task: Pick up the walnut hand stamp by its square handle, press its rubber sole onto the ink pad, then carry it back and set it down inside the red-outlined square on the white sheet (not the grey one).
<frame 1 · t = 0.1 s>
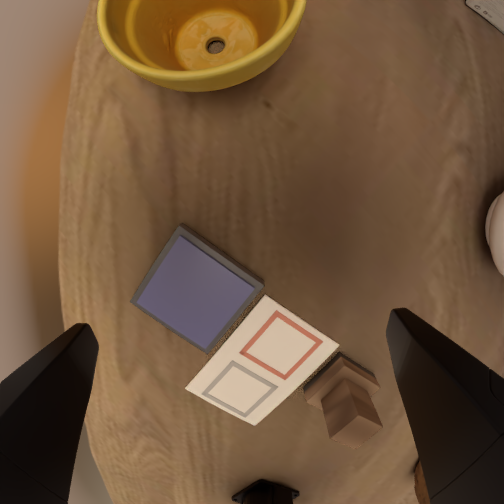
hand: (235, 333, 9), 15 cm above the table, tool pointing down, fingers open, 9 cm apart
sheet: (259, 369, 27), on the table
stamp: (339, 380, 27), on the table
plant pot: (218, 49, 20), on the table
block: (439, 449, 31), on the table
inkpad: (195, 289, 25), on the table
flower vase: (502, 215, 23), on the table
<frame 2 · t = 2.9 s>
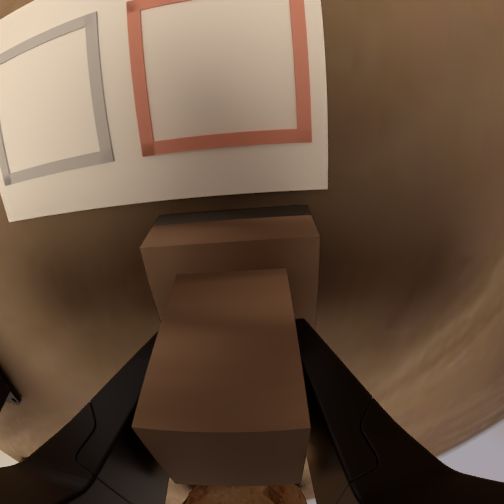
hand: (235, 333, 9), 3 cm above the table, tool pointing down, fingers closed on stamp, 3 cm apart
sheet: (120, 80, 8), on the table
stamp: (238, 273, 11), on the table, touching gripper
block: (242, 485, 23), on the table
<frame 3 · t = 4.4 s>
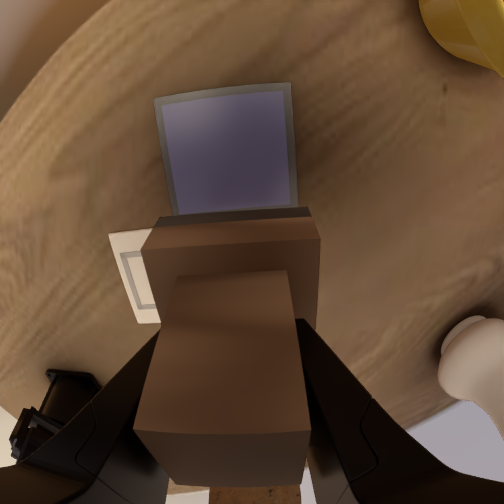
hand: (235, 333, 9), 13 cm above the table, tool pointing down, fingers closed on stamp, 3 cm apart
sheet: (201, 275, 23), on the table
stamp: (238, 274, 11), point 9 cm above the table, touching gripper
plant pot: (455, 17, 14), on the table
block: (253, 456, 37), on the table
inkpad: (228, 150, 18), on the table
flower vase: (468, 330, 27), on the table
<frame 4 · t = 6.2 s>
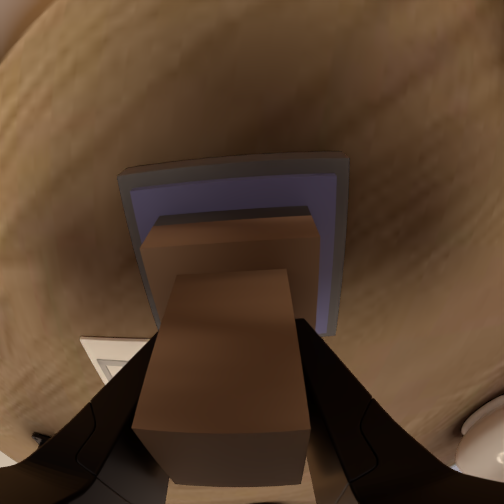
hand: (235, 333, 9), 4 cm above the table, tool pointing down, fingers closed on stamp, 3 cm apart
sheet: (200, 388, 17), on the table
stamp: (238, 273, 11), point 1 cm above the table, touching gripper, inkpad
inkpad: (240, 253, 12), on the table
flower vase: (492, 406, 21), on the table
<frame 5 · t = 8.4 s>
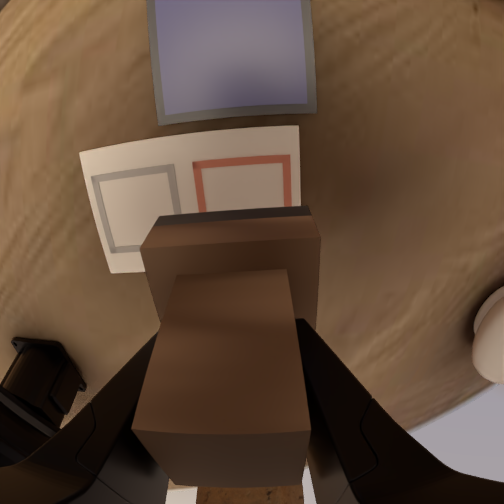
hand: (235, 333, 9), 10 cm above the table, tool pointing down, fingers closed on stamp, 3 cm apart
sheet: (190, 205, 17), on the table
stamp: (238, 273, 11), point 7 cm above the table, touching gripper
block: (249, 451, 32), on the table
inkpad: (231, 42, 13), on the table
flower vase: (502, 302, 22), on the table
when the fingers open (3 cm above the table, at t = 9.7 s): stamp stays where it is, resting on sheet.
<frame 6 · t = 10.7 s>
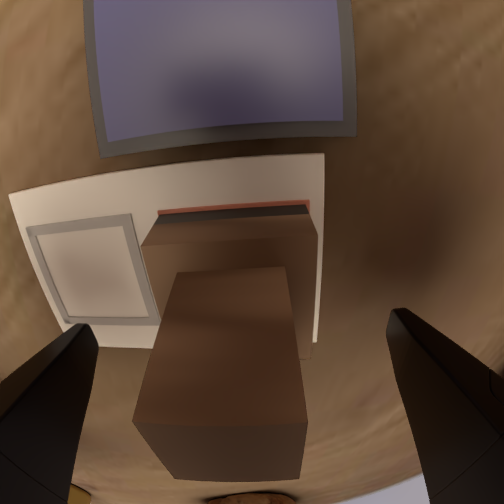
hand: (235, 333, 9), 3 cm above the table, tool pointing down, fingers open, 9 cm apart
sheet: (160, 270, 12), on the table
bark patterned cylinder: (70, 485, 31), on the table
stamp: (237, 271, 12), resting on sheet
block: (248, 499, 27), on the table
inkpad: (215, 19, 8), on the table
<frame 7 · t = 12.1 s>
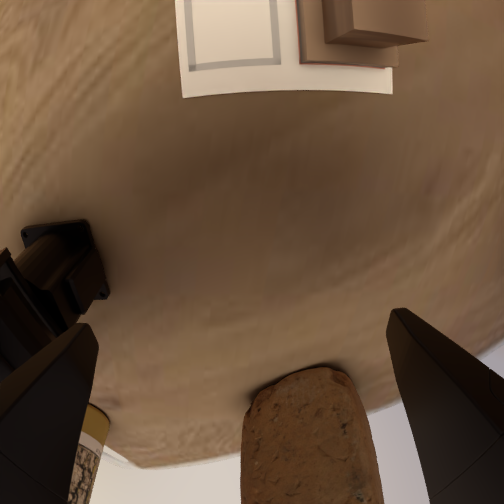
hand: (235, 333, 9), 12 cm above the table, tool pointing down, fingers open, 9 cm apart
sheet: (287, 23, 14), on the table
bark patterned cylinder: (86, 411, 33), on the table
stamp: (341, 25, 14), resting on sheet
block: (301, 390, 29), on the table
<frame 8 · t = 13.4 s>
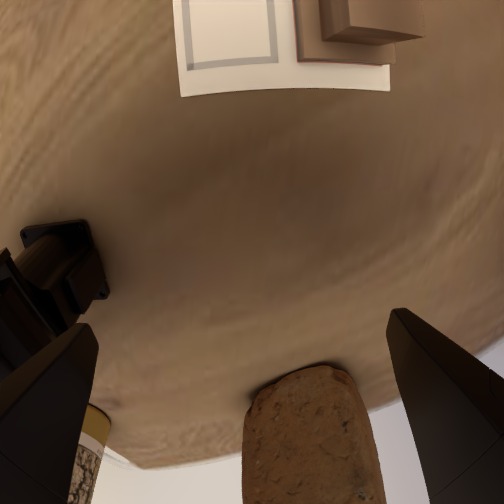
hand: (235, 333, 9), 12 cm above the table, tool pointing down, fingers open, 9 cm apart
sheet: (284, 22, 14), on the table
bark patterned cylinder: (87, 412, 33), on the table
stamp: (338, 23, 14), resting on sheet
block: (301, 389, 29), on the table
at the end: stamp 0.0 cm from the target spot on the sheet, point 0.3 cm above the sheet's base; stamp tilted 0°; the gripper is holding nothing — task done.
